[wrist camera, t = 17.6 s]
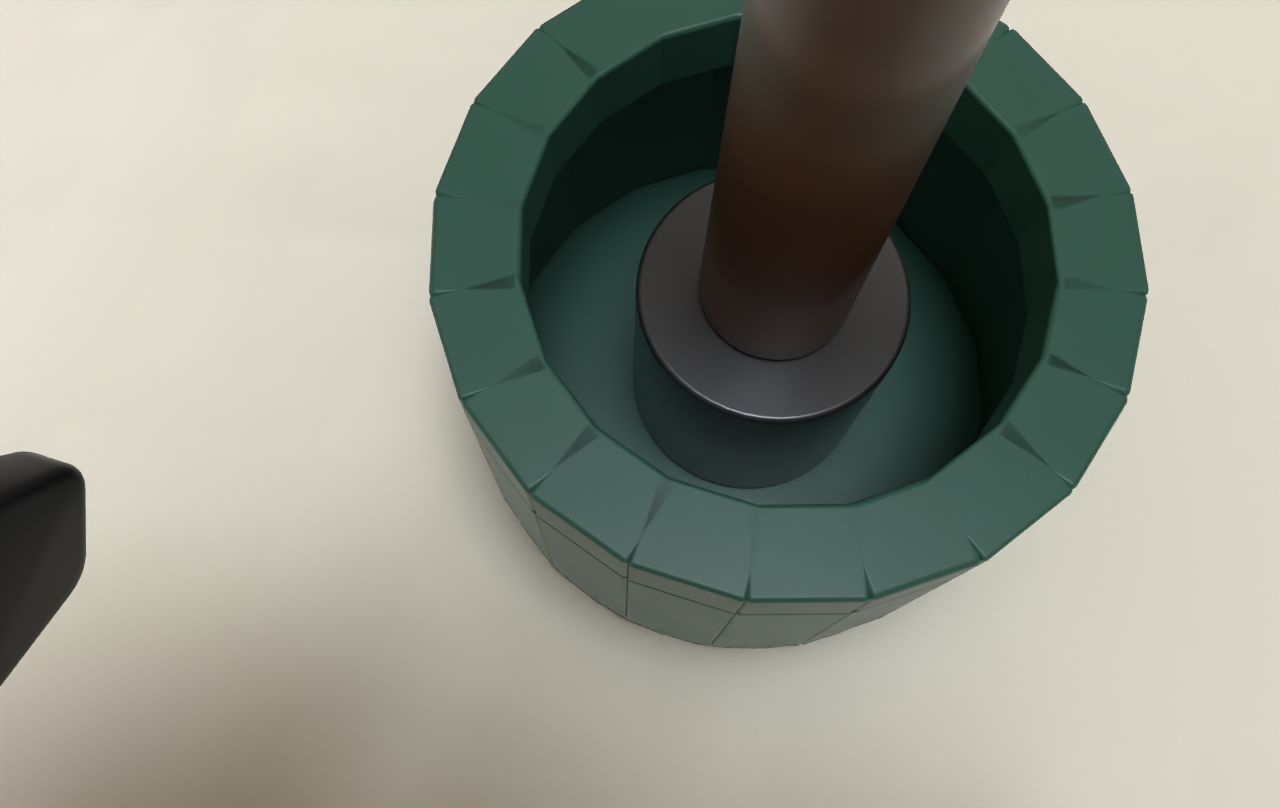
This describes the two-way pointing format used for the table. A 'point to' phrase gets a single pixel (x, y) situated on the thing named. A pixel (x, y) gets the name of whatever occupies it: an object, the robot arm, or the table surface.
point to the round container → (896, 412)
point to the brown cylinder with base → (797, 234)
